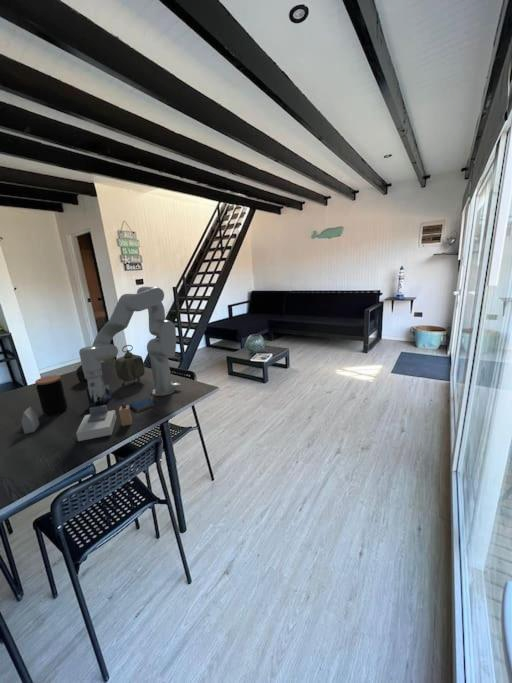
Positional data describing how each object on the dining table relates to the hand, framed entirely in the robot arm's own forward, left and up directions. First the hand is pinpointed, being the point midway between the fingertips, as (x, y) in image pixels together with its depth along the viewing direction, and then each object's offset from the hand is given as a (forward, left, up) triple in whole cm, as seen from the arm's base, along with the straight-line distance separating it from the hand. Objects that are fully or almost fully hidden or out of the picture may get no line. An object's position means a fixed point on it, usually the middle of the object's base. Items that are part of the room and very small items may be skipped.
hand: (100, 408), depth 141 cm
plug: (-12, +10, -5) cm, 16 cm away
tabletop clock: (-11, -41, -5) cm, 43 cm away
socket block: (0, +10, -5) cm, 11 cm away
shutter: (0, +7, -1) cm, 7 cm away
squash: (+16, -58, -5) cm, 60 cm away
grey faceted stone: (+30, -2, -5) cm, 31 cm away
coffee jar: (+25, -18, -5) cm, 31 cm away
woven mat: (-18, -6, -6) cm, 20 cm away
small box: (+4, -20, -5) cm, 21 cm away
